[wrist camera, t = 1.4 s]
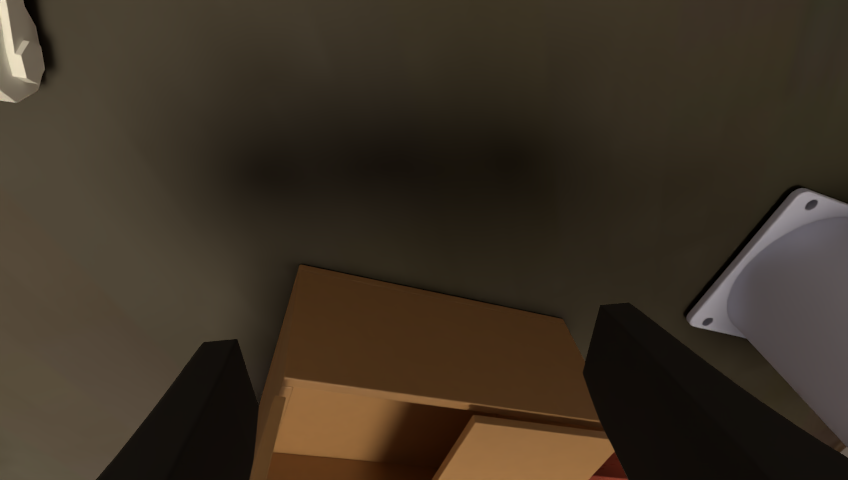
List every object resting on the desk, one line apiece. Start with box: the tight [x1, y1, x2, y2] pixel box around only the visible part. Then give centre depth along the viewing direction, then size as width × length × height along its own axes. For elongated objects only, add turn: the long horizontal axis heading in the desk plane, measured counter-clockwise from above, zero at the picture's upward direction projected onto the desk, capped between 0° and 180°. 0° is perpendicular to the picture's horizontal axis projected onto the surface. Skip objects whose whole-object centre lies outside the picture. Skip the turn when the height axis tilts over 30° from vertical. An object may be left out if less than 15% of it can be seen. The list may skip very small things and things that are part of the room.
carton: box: [252, 264, 615, 480], centre depth 22 cm, size 13×13×7 cm
